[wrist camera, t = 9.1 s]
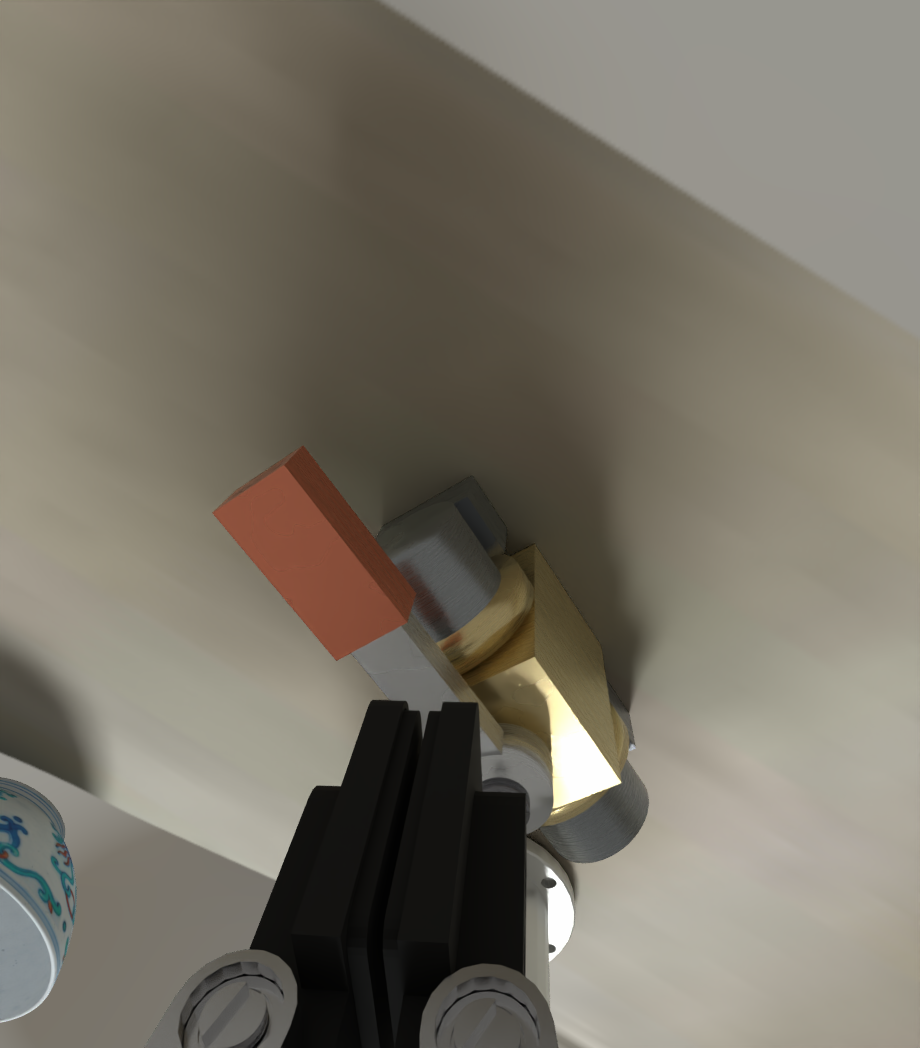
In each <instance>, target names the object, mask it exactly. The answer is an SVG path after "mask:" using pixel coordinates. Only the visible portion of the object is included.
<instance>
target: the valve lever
mask: <svg viewBox="0 0 920 1048" xmlns="http://www.w3.org/2000/svg"><path fill="white" fill-rule="evenodd" d="M213 514H214V516H215V517H216V518H217V519H218V520H219V521H220V523H221V524H222V525H223V526H224V527H225V529H226V530H227V531H228V532H229V533H230V535H231V536H232V537H233V538H234V539H235V541H236V542H237V543H238V544H239V545H240V546H241V548H242V549H243V550H244V551H245V552H246V554H247V555H248V556H249V557H250V558H251V560H252V561H253V562H254V563H255V564H256V566H257V567H258V568H259V569H260V570H261V572H262V573H263V574H264V575H265V576H266V577H267V579H268V580H269V581H270V582H271V583H272V585H273V586H274V587H275V588H276V589H277V591H278V592H279V593H280V594H281V595H282V597H283V598H284V599H285V600H286V601H287V603H288V604H289V605H290V606H291V607H292V608H293V610H294V611H295V612H296V613H297V614H298V616H299V617H300V618H301V619H302V620H303V622H304V623H305V624H306V625H307V626H308V628H309V629H310V630H311V631H312V632H313V633H314V635H315V636H316V637H317V638H318V639H319V641H320V642H321V643H322V644H323V645H324V647H325V648H326V649H327V650H328V651H329V653H330V654H331V655H332V656H333V657H334V659H335V660H336V661H337V660H339V659H341V658H343V657H344V656H346V655H348V654H350V653H351V654H352V655H353V656H354V657H355V659H356V660H357V661H358V662H359V663H360V665H361V666H362V667H363V668H364V669H365V671H366V672H367V673H368V674H369V676H370V677H371V678H372V679H373V680H374V682H375V683H376V684H377V685H378V686H379V688H380V689H381V690H382V691H383V692H384V694H385V695H386V696H387V697H388V698H389V700H396V701H407V703H408V706H409V710H419V711H420V714H421V722H422V735H423V736H424V732H425V727H426V722H427V718H428V714H429V711H441V708H442V704H443V702H478V705H479V719H480V742H481V766H482V789H483V792H512V793H526V830H527V834H529V833H531V832H533V831H535V830H536V829H538V828H539V827H541V826H542V825H543V824H544V823H545V822H546V821H547V819H548V818H549V816H550V814H551V812H552V809H553V802H554V798H553V765H552V757H551V753H550V751H549V749H548V747H547V745H546V744H545V743H544V741H543V740H542V739H541V738H540V737H538V736H537V735H536V734H535V733H533V732H532V731H530V730H528V729H526V728H523V727H521V726H517V725H513V724H507V723H497V722H496V720H495V719H494V718H493V716H492V715H491V714H490V712H489V711H488V710H487V709H486V707H485V706H484V705H483V703H482V702H481V701H480V700H479V698H478V697H477V696H476V694H475V693H474V692H473V691H472V689H471V688H470V687H469V685H468V684H467V683H466V682H465V680H464V679H463V678H462V676H461V675H460V674H459V672H458V671H457V670H456V669H455V667H454V666H453V665H452V663H451V662H450V661H449V660H448V658H447V657H446V656H445V654H444V653H443V652H442V651H441V649H440V648H439V647H438V645H437V644H436V643H435V641H434V640H433V639H432V638H431V636H430V635H429V634H428V632H427V631H426V630H425V629H424V627H423V626H422V625H421V623H420V622H419V621H418V620H417V618H416V617H415V616H414V614H413V613H412V612H411V609H412V606H413V602H414V599H415V596H416V592H415V591H414V590H413V588H412V587H411V586H410V584H409V583H408V582H407V581H406V579H405V578H404V577H403V575H402V574H401V573H400V571H399V570H398V569H397V567H396V566H395V565H394V564H393V562H392V561H391V560H390V558H389V557H388V556H387V554H386V553H385V552H384V550H383V549H382V548H381V547H380V545H379V544H378V543H377V541H376V540H375V539H374V537H373V536H372V535H371V533H370V532H369V531H368V529H367V528H366V527H365V526H364V524H363V523H362V522H361V520H360V519H359V518H358V516H357V515H356V514H355V512H354V511H353V510H352V509H351V507H350V506H349V505H348V503H347V502H346V501H345V499H344V498H343V497H342V495H341V494H340V493H339V492H338V490H337V489H336V488H335V486H334V485H333V484H332V482H331V481H330V480H329V478H328V477H327V476H326V475H325V473H324V472H323V471H322V469H321V468H320V467H319V465H318V464H317V463H316V461H315V460H314V459H313V457H312V456H311V455H310V454H309V452H308V451H307V450H306V448H305V447H304V446H301V447H300V448H298V449H297V450H295V451H294V452H292V453H291V454H289V455H288V456H286V457H285V458H283V459H282V460H280V461H279V462H277V463H276V464H274V465H273V466H271V467H270V468H268V469H267V470H265V471H264V472H263V473H261V474H260V475H258V476H257V477H255V478H254V479H252V480H251V481H249V482H248V483H246V484H245V485H243V486H242V487H240V488H239V489H237V490H236V491H235V492H234V493H233V494H232V495H230V496H229V497H228V498H227V499H226V500H225V501H224V502H223V503H222V504H221V505H220V506H219V507H218V508H217V509H216V510H215V511H214V512H213Z"/></svg>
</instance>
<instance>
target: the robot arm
mask: <svg viewBox="0 0 920 1048" xmlns="http://www.w3.org/2000/svg"><path fill="white" fill-rule="evenodd" d="M574 925H575V902H574V893H573V888H572V885H571V883H570V880H569V878H568V875H567V874H566V872H565V871H564V869H563V868H562V867H561V865H560V864H559V862H558V861H557V860H556V859H555V858H554V857H553V856H552V855H551V854H550V853H549V852H548V851H547V850H545V849H544V848H543V847H541V846H540V845H538V844H537V843H535V842H534V841H532V840H531V839H529V838H527V830H526V793H512V792H483V789H482V766H481V742H480V719H479V705H478V702H443V704H442V708H441V711H429V714H428V718H427V722H426V727H425V732H424V736H423V735H422V722H421V714H420V711H419V710H409V706H408V703H407V701H396V700H372V701H371V702H370V704H369V706H368V709H367V712H366V715H365V718H364V721H363V724H362V727H361V730H360V733H359V736H358V738H357V741H356V744H355V747H354V750H353V753H352V756H351V759H350V762H349V765H348V768H347V771H346V773H345V776H344V779H343V782H342V785H341V786H316V787H315V788H314V789H313V790H312V792H311V794H310V796H309V798H308V801H307V803H306V806H305V809H304V811H303V814H302V816H301V819H300V821H299V824H298V826H297V829H296V832H295V834H294V837H293V839H292V842H291V844H290V847H289V849H288V852H287V854H286V857H285V860H284V862H283V865H282V867H281V870H280V872H279V875H278V877H277V880H276V883H275V885H274V888H273V890H272V893H271V895H270V898H269V901H268V903H267V906H266V908H265V911H264V913H263V916H262V918H261V921H260V923H259V926H258V928H257V931H256V934H255V936H254V939H253V941H252V944H251V947H250V949H248V950H247V949H245V950H240V951H236V952H232V953H228V954H225V955H223V956H221V957H219V958H217V959H215V960H213V961H211V962H209V963H207V964H206V965H205V966H203V967H202V968H201V969H200V970H199V971H197V972H196V973H195V974H194V975H193V976H191V977H190V978H189V979H188V981H187V982H186V983H185V984H184V986H183V987H182V989H181V990H180V991H179V992H178V993H177V995H176V996H175V997H174V999H173V1001H172V1002H171V1004H170V1006H169V1007H168V1009H167V1011H166V1012H165V1014H164V1016H163V1017H162V1019H161V1020H160V1022H159V1024H158V1025H157V1027H156V1028H155V1030H154V1032H153V1034H152V1035H151V1037H150V1038H149V1040H148V1042H147V1043H146V1045H145V1047H144V1048H558V1043H557V1037H556V1031H555V1025H554V1021H553V1018H552V1015H551V1012H550V981H549V961H551V960H552V959H553V958H554V957H555V956H556V955H557V954H558V953H559V952H560V951H561V950H562V949H563V948H564V946H565V945H566V943H567V942H568V940H569V939H570V937H571V934H572V931H573V928H574Z"/></svg>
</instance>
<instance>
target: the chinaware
mask: <svg viewBox="0 0 920 1048" xmlns="http://www.w3.org/2000/svg"><path fill="white" fill-rule="evenodd" d="M64 837H65V827H64V823H63V820H62V818H61V815H60V814H59V812H58V810H57V809H56V808H55V806H54V805H53V804H52V803H51V802H50V801H49V800H48V799H47V798H46V797H45V796H43V795H42V794H41V793H39V792H38V791H36V790H35V789H33V788H31V787H29V786H28V785H25V784H23V783H21V782H18V781H15V780H11V779H7V778H1V777H0V1022H5V1021H9V1020H13V1019H16V1018H18V1017H21V1016H23V1015H25V1014H27V1013H29V1012H30V1011H32V1010H34V1009H35V1008H36V1007H37V1006H39V1005H40V1004H41V1003H42V1002H43V1000H44V999H45V998H46V997H47V996H48V994H49V992H50V991H51V989H52V987H53V985H54V983H55V981H56V979H57V976H58V974H59V971H60V969H61V966H62V963H63V961H64V958H65V955H66V952H67V949H68V946H69V942H70V938H71V934H72V930H73V925H74V919H75V912H76V879H75V873H74V868H73V864H72V860H71V858H70V854H69V851H68V849H67V847H66V844H65V842H64Z"/></svg>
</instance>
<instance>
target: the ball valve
mask: <svg viewBox="0 0 920 1048" xmlns="http://www.w3.org/2000/svg"><path fill="white" fill-rule="evenodd" d="M506 535H507V527H506V526H505V524H504V523H503V521H502V520H501V518H500V517H499V515H498V514H497V512H496V511H495V509H494V508H493V506H492V505H491V503H490V502H489V500H488V499H487V497H486V496H485V494H484V493H483V491H482V490H481V488H480V487H479V485H478V483H477V482H476V480H475V479H474V477H473V476H470V477H468V478H467V479H465V480H463V481H461V482H460V483H458V484H456V485H454V486H453V487H451V488H449V489H447V490H446V491H444V492H442V493H440V494H439V495H437V496H435V497H433V498H432V499H430V500H428V501H426V502H425V503H423V504H421V505H419V506H417V507H416V508H414V509H412V510H410V511H409V512H407V513H405V514H403V515H402V516H400V517H398V518H396V519H395V520H393V521H391V522H389V523H388V524H386V525H384V526H382V527H381V530H380V532H379V534H378V536H377V538H376V541H377V543H378V544H379V545H380V547H381V548H382V549H383V550H384V552H385V553H386V554H387V556H388V557H389V558H390V560H391V561H392V562H393V564H394V565H395V566H396V567H397V569H398V570H399V571H400V573H401V574H402V575H403V577H404V578H405V579H406V581H407V582H408V583H409V584H410V586H411V587H412V588H413V590H414V591H415V592H416V596H415V599H414V602H413V606H412V609H411V612H412V613H413V614H414V616H415V617H416V618H417V620H418V621H419V622H420V623H421V625H422V626H423V627H424V629H425V630H426V631H427V632H428V634H429V635H430V636H431V638H432V639H433V640H434V641H435V643H436V644H437V645H438V647H439V648H440V649H441V651H442V652H443V653H444V654H445V656H446V657H447V658H448V660H449V661H450V662H451V663H452V665H453V666H454V667H455V669H456V670H457V671H458V672H459V674H460V675H461V676H462V678H463V679H464V680H465V682H466V683H467V684H468V685H469V687H470V688H471V689H472V691H473V692H474V693H475V694H476V696H477V697H478V698H479V700H480V701H481V702H482V703H483V705H484V706H485V707H486V709H487V710H488V711H489V712H490V714H491V715H492V716H493V718H494V719H495V720H496V722H497V723H507V724H513V725H517V726H521V727H523V728H526V729H528V730H530V731H532V732H533V733H535V734H536V735H537V736H538V737H540V738H541V739H542V740H543V741H544V743H545V744H546V745H547V747H548V749H549V751H550V753H551V757H552V765H553V798H554V802H553V809H552V812H551V814H550V816H549V818H548V819H547V821H546V822H545V823H544V824H543V825H542V826H541V827H539V829H540V830H541V831H542V833H543V834H544V835H545V837H546V838H547V839H548V840H549V842H550V843H551V844H552V846H553V847H554V848H555V850H556V851H557V852H558V853H559V854H560V855H561V856H562V857H564V858H565V859H567V860H570V861H573V862H576V863H592V862H597V861H600V860H603V859H606V858H608V857H610V856H612V855H614V854H616V853H617V852H619V851H620V850H622V849H623V848H624V847H625V846H626V845H628V844H629V843H630V842H631V841H632V839H633V838H634V837H635V836H636V835H637V833H638V832H639V830H640V829H641V827H642V825H643V823H644V821H645V819H646V815H647V812H648V806H649V799H648V793H647V789H646V787H645V785H644V784H643V782H642V781H641V779H640V778H639V776H638V775H637V773H636V772H635V770H634V769H633V767H632V766H631V764H630V763H629V761H628V760H627V756H628V751H630V750H632V749H635V748H636V747H635V742H634V736H633V731H632V725H631V720H630V715H629V713H628V711H627V710H626V708H625V707H624V705H623V703H622V702H621V700H620V699H619V697H618V696H617V694H616V693H615V691H614V690H613V688H612V687H611V685H610V684H609V682H608V681H607V679H606V674H605V668H604V661H603V654H602V648H601V645H600V643H599V642H598V640H597V639H596V637H595V636H594V634H593V633H592V631H591V629H590V628H589V626H588V625H587V623H586V622H585V620H584V619H583V617H582V616H581V614H580V612H579V611H578V609H577V608H576V606H575V605H574V603H573V602H572V600H571V599H570V597H569V596H568V594H567V592H566V591H565V589H564V588H563V586H562V585H561V583H560V582H559V580H558V579H557V577H556V576H555V574H554V572H553V571H552V569H551V568H550V566H549V565H548V563H547V562H546V560H545V559H544V557H543V556H542V554H541V552H540V551H539V549H538V548H537V546H536V545H535V544H533V545H531V546H529V547H527V548H525V549H523V550H521V551H520V552H518V553H516V554H514V555H512V556H508V555H502V554H503V553H505V546H506Z"/></svg>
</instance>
